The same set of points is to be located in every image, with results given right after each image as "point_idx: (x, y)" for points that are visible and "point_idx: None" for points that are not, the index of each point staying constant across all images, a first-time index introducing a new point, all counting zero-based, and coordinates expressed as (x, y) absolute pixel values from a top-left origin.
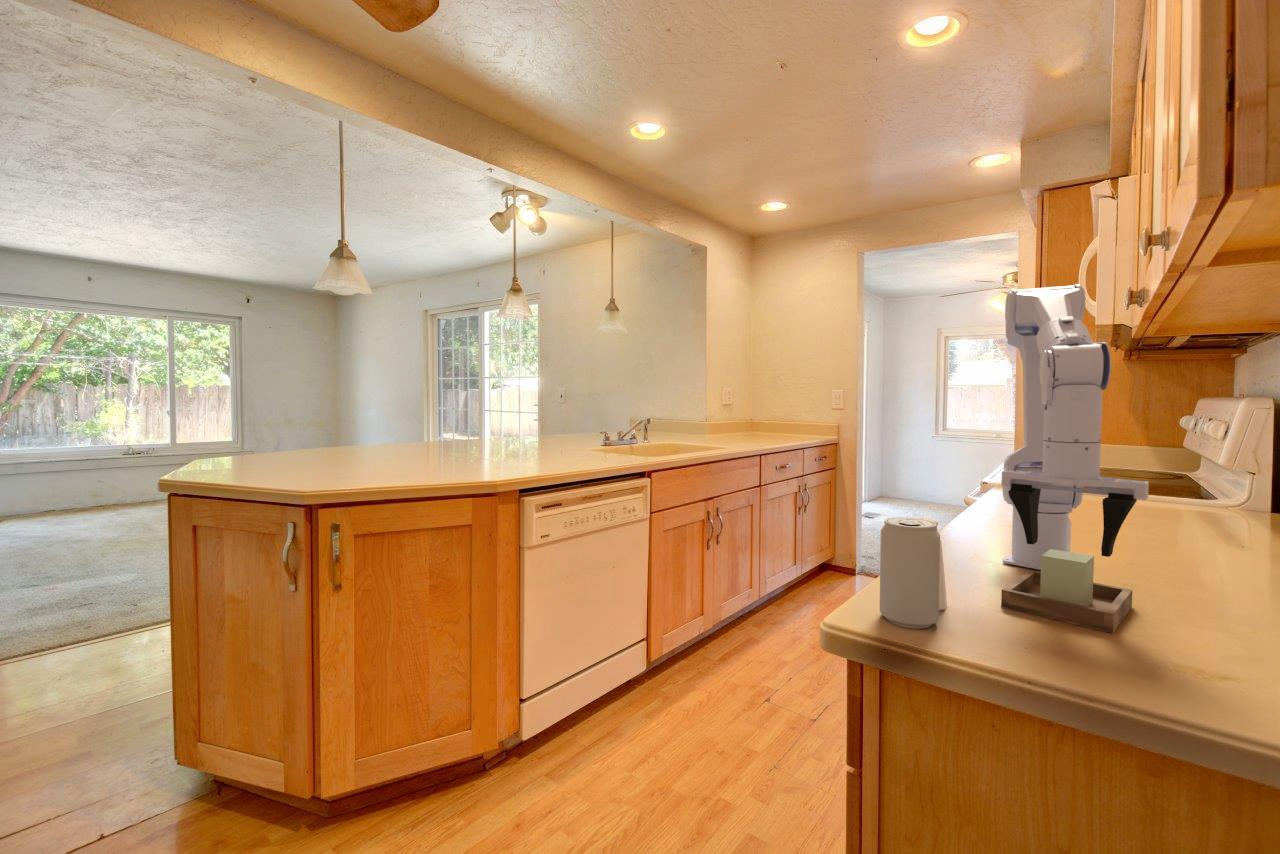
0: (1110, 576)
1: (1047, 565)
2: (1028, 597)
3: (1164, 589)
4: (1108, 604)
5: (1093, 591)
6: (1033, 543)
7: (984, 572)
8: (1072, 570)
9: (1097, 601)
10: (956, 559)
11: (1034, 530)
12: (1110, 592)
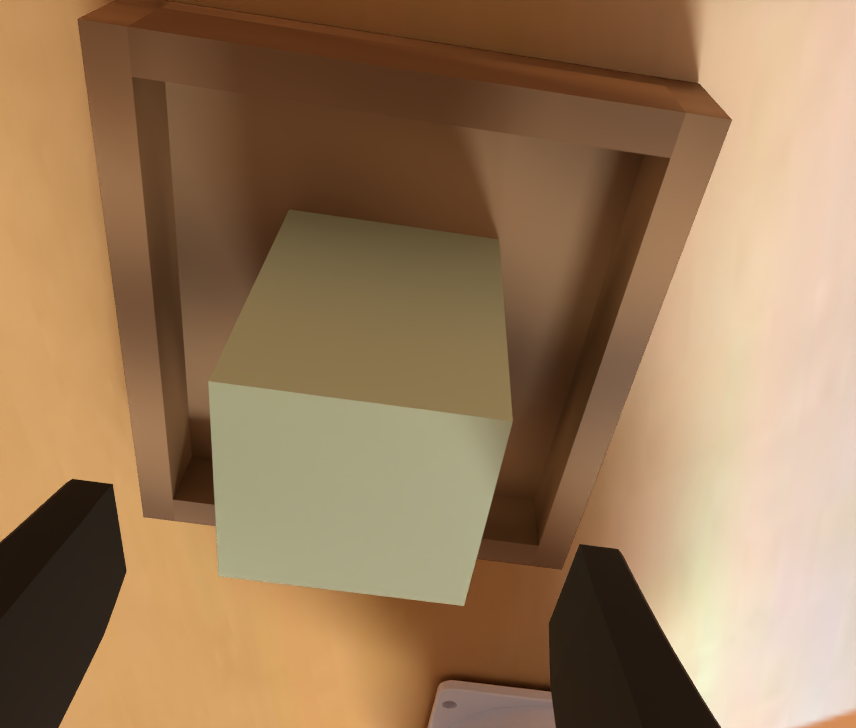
0: (303, 723)
1: (467, 372)
2: (562, 92)
3: (144, 680)
4: None
5: None
6: (575, 562)
7: (737, 582)
8: (310, 349)
9: None
10: (842, 679)
11: (583, 679)
12: None
